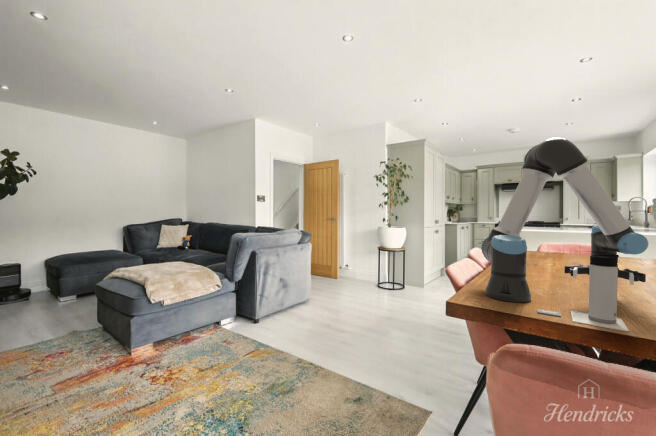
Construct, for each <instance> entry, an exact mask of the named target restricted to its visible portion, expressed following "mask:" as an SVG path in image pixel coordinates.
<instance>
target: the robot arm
mask: <svg viewBox="0 0 656 436" xmlns="http://www.w3.org/2000/svg"><path fill="white" fill-rule="evenodd" d="M588 163H589V160H588V159H587V157H586V156H585V155H584V154H583V153H582V151H581V150H580V149H579V147H577V146H576V144H574V143H573V142H572V141H571V140H568V139H567V138H563V137H551V138H548V139H546V140H544V141H543V142H540V143H539V144H537V145H534V146H533V147H531V148H530V149H529V150H528V151H527V152H526V154H525V156H524V158H523V164H522V167H521V170H520V171H521V174H522V176H521V179H520V181H519V183H518V185H517V186H516V188H515V191H514V193H513V195H512V198H511V199H510V201H509V203H508V205H507V207H506V209H505V212H504V213H503V215H502V218H501V220H500V222H499V223H498V225H497V226H496V227H493V228H492V229H491V231H490V233H489V234H488V236H487V237H486V238H485V239H484V240H483V241H482V243H481V246H480V247H481V253H482V255H483V257H484V258H485V259H486V260H487V262H490V276H489V279H488V281H487V282H488V283H487V285H486V287H485V292H484V293H485V295H486V296H487V297H488V298H491V299H494V300H499V301H503V302H511V303H528V302H531V301H532V293H531V291H530V288H529V284H528V281H527V250H528V246H527V241H526V239H525V238H524V237H521V235H520V234H521V233H522V230H523V228H524V226H525V224H526V222H527V221H528V219H529V216H530V214H531V213H532V211H533V209H534V207H535V205H536V202H537V200H538V199H539V197H540V194H541V192H542V191H543V189H544V187H545V185H546V183H547V182H548V181H549V182H550V181H551V180H553V178H554V176H555V174H556V175H557V177H563V179H564V181H566V183H567V185H568V186H569V188H570V189H571V190H572V191H573V193H574V195H575V196H576V197H577V199H578V200H579V202H580V203H581V204H582V206H583V207H584V208H585V209H586V210H585V211H587V213H588V214H589V216H590V217H591V218H592V219H593V221H594V222H595V225H593V226H592V227H591V232H590V238H591V239H590V240H591V242H590V246H591V247H590V250H591V251H590V256H592V255H611V254H616V255H618V253H622V254H624V255H632V256H633V255H635V256H636V255H640V254H643V253H644V252H645V251H647V249H648V247H649V240H648V238H647V237H646V236H645V235H643V234H641V233H639V232H635V231H634V230H633V228H632V227H631V226H630V224H629V223H628V221H627V220H626V218H625V217H624V216H623V214H622V213H621V211H620V210H619V209H618V207H617V206H616V204H615V203H614V202H613V200H612V199H611V197H610V196H609V195H608V193H607V192H606V191H605V189H604V188H603V186H602V184H601V183H600V182H599V180H597V177H595V175H594V174H593V172H592V171H591V170H590V168H589V167H588ZM617 269H618V279H624V280H628V281H629V285H631V286H632V285H635V284H634V283H636V282H638V283H639V282H642V283H646V279H647V277H646V275H647V274H646V273H644V272H643V273H642V272H639V271H637V270H631V269H630V268H624V269H623V270H621V269H620V268H619V267H618V268H617ZM589 272H590V264H588V265H587V266H584V264H582V263H578V264H573V265H564V273H563V274H569V275H570V277H572V278H573V279H577V277H578V275H587V276H588V275H589Z"/></svg>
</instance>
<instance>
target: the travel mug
mask: <svg viewBox="0 0 656 436" xmlns="http://www.w3.org/2000/svg"><path fill="white" fill-rule="evenodd" d="M619 258H620V255H619V254H617V255H616V254H611V255H592V256H591V255H590V256H589V261H590V262H589V265H590V272H589V277H588V279H589V280H588V284H589V285H588V312H587V313H588V318H589V319H591V320H593V321H596V322H599V323H605V324H615V323H616V322H617V318H618V317H617V315H618V313H617V312H618V282H619V281H618V279H619V278H618V269H617V268H619V264H618V263H619Z"/></svg>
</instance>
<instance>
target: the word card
mask: <svg viewBox="0 0 656 436" xmlns="http://www.w3.org/2000/svg"><path fill="white" fill-rule="evenodd" d="M537 314H541V315H545V316H551V317H552V316H553V317H558V318H561V317H562V314H561V311H560V312H559V311H554V310H547V309H540V308H537Z"/></svg>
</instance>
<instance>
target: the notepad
mask: <svg viewBox="0 0 656 436" xmlns="http://www.w3.org/2000/svg"><path fill="white" fill-rule="evenodd" d="M570 313H571V320H572V322H573V323H578V324H583V325H589V326H596V327H601V328H604V329H605V328H606V329H612V330H616V331H624V332H629V331H630V330H629V328H628V327H627V325H626V324H625V322H624V321H623V319H622V318H621V317H616V318H617V322H616V323H615V324H605V323H599V322H596V321H593V320H591V319H589V318H588V313H589V312H583V311H577V310H570Z"/></svg>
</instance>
